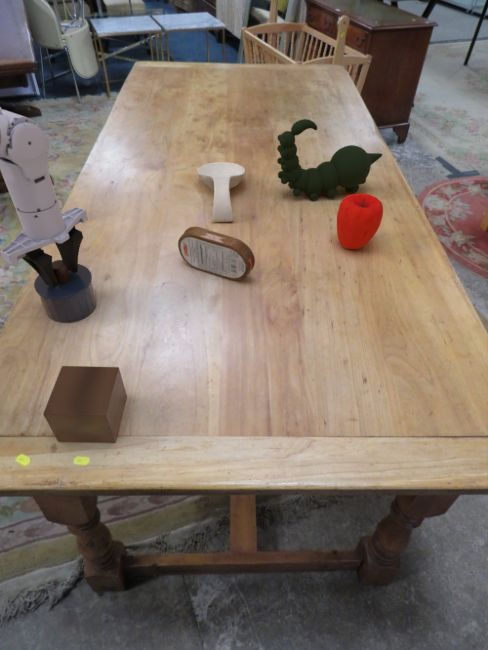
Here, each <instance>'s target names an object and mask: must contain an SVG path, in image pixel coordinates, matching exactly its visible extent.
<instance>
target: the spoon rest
mask: <svg viewBox="0 0 488 650" xmlns="http://www.w3.org/2000/svg"><path fill="white" fill-rule="evenodd" d="M196 174H197V176H198V178H199V179H200V180H201V182H202V183H203V184H205V186H207V187H209V188H210V189H211V190H212V191H213V203H212V210H211V211H212V212H211V222H213V223H231V222H233V221H234V212H233V207H232V202H231V194H230V190H232V189H233V188H235V187H237V186H238V185H239V184H240V183H241V182H242V181H243V179H244V177H245V175H246V168H244V166H242V165H241V164H238V163H235V162H229V161H215V162H208V163H204V164H201V166H199V167H198V168H197V170H196ZM231 188H232V189H231ZM229 189H230V190H229Z"/></svg>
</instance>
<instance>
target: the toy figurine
mask: <svg viewBox="0 0 488 650" xmlns="http://www.w3.org/2000/svg"><path fill="white" fill-rule="evenodd" d="M309 129H312V130H314V131H317V130H318V125H317V124H316V123H315V122H314V121H312V120H311V119H307V118H306V119H305V118H303V119H299V120H297V121H296V122H294V123H293V124H292V126H291V128H290V130H285V131H283V132H282V133H281V134H278V135H277V140H278V141H279V145H277V148H276V149H277V152H279V155H280V156H279V157H278V158H277V160H276V161H277V164H278V165H280V171H278V173H277V178H278V179H280V183H281V184H282V185H287V186H288V188H289V190H292V192H291V193H292V195H293V197H296V198H298V197H300V196H301V195H302V192H303V193H304V194H306V195H308V197H309V199H310V200H312V201H315V200H317V199H318V197H319V194H320V193H321V192H325V194H326V195H327V197H328V198H334V197H335V196H336V195H337V193H338V190H337V189H338V188H339V187H341V188H344V190H345V191H346V192H347V193H349V192H350V193H349V194H356V193H357V192H358V191H359V189H360V186H361V185H364V184H365V183H366V182H367V178H368V176H369V174H370V171H371V166H372V165H373V164H374V163H375V162H377V161H378V160H380V159H381V158H382V157H383V153H379V152H374V153H373V152H367V151H366V149H364V148H363V147H360V146H358V145H354V144H350V145H346V146H342V147H341V148H339V149H338V150H337V151H335V152H334V153H333V155H332V156H331V158H330V160H328V161H322V162H321V163H320V164H318V165H317V166H316V167H309V168H307V169H305V168H303V167H302V165H301V164H300V159H299V156H298V154H297V153H298V148H297V147H298V146H297V144H296V136H300V135H301V134H303V132H305V131H306V130H309Z"/></svg>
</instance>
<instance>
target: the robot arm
mask: <svg viewBox="0 0 488 650" xmlns="http://www.w3.org/2000/svg"><path fill="white" fill-rule="evenodd" d="M49 150H50V138H49V135H48V134H46V133H45V132H44V131H43V128H42V127H41V126H40V124H39V123H36V121H35V120H34V119H32V118H30V117H27V116H25V115H21V114H18V113H15V112H13V111H9V110H6V109H2V107H1V106H0V172H1V176H2V178H3V180H4V183H5V185H6V188H7V190H8V194H9V196H10V198H11V201H12V203H13V206H14V209H15V211H16V212H15V213H16V214H17V217H18V219H19V222H20V225H21V227H22V230H21V232H19V233H18V235H17V236H16V237H15V238H14V239H13V240H12V241H11V242H10V243H9V244H7V246H5V247H4V248H2V249H1V250H0V256H1V258H2V260H3V262H4V263H6V264H7V265H9V266H11V267H15V266H17V265H18V264H20V260H21V259H22V260H23V261H24V262H25V263H27V264H28V265H29V266H30V267H31V268H32V269H33V270H34V271H35V272H36V273H37V274H38V275H40V277H41V278H42V279H43V281H44V282H45V284H46V285H48V286H51V287H53V288H55V287H56V286H57V280H56V277H55V275H54V272H53V267H52V262H53V255H50V254H48V253H46V252H45V250H44V249H42V248H44V247H47V246H49V245H52V244H55V246H56V248H57V250H58V252H59V255H60V257H61V260H63V261H65V262H66V265H67V268H68V270H69V271H71V272H73V273H76V272H78V264H79V252H80V248H81V244H82V241H83V239H84V234H83V232H82V230H80V229H77V228H76V226H77V225H78V224H80V223H82V224H84V223H86V222H88V221H89V217H88V214H87V210H86V209H84V208H82V207H79V206H75V207H73V208H71V209H68V210H65V211H61V207H60V204H59V200H58V198H57V193H56V191H55V187H54V184H53V180H52V178H51V173H50V172H49V169H50V166H49V163H48V153H49Z"/></svg>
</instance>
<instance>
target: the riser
mask: <svg viewBox="0 0 488 650" xmlns="http://www.w3.org/2000/svg"><path fill="white" fill-rule="evenodd" d="M122 377H123V376H122V373H121V370H120V367H119V366H85V365H83V366H82V365H81V366H78V365H62V366H61V368H60V370H59V373H58V375H57V377H56V380H55V383H54V386H53V387H52V390H51V393H50V396H49V398H48V401H47V402H46V403H47V404H46V405H45V408H44V410H43V413H42V415H43V416H44V419H45V420H46V422H47V424H48V426H49V428H50V429H51V432H52V433H53V435H54V438H55V439H56V441H57V442H58V443H59V442H61V443H62V442H63V443H105V444H106V443H107V444H108V443H109V444H110V443H111V444H113V443H114V444H115V443H117V438H118V434H119V430H120V426H121V421H122V417H123V414H124V409H125V405H126V401H127V397H128V395H127V391H126V388H125V385H124V381H123V378H122Z"/></svg>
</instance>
